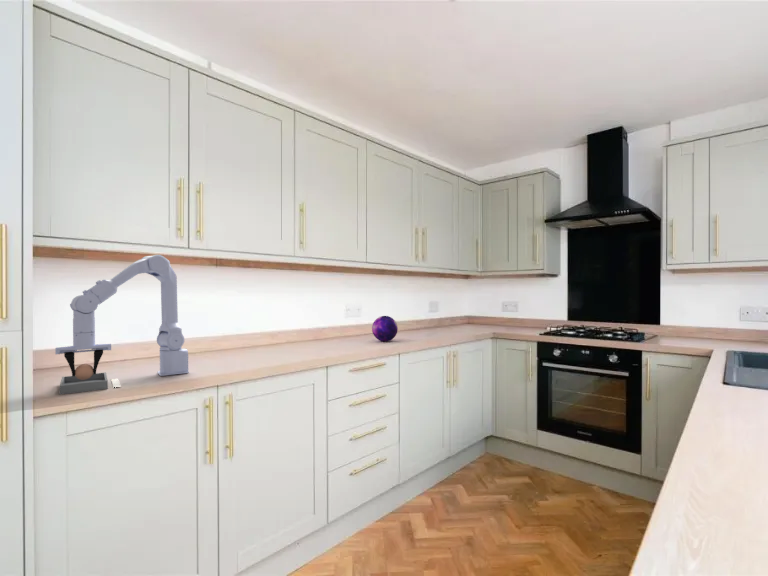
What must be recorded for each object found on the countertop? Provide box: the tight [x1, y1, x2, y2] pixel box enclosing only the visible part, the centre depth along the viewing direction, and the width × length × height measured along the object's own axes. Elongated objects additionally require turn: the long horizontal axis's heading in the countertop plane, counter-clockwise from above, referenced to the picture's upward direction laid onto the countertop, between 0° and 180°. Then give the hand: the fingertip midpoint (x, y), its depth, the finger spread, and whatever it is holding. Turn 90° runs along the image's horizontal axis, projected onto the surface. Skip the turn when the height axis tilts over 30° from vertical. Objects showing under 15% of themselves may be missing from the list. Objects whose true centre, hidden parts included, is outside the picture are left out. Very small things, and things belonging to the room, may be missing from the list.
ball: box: [75, 363, 94, 380], centre depth 134 cm, size 5×5×5 cm
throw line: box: [110, 378, 122, 389], centre depth 139 cm, size 2×16×1 cm, turn 35°
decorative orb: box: [371, 315, 399, 343], centre depth 244 cm, size 15×15×15 cm
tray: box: [58, 372, 109, 395], centre depth 134 cm, size 12×16×3 cm
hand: (84, 374), depth 134 cm, fingers closed on ball, 5 cm apart
